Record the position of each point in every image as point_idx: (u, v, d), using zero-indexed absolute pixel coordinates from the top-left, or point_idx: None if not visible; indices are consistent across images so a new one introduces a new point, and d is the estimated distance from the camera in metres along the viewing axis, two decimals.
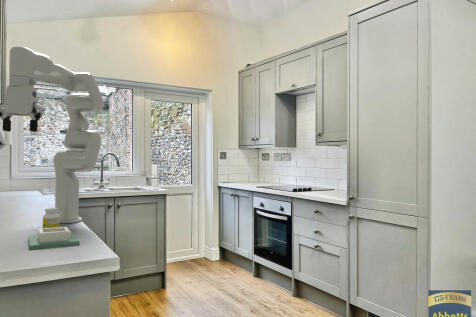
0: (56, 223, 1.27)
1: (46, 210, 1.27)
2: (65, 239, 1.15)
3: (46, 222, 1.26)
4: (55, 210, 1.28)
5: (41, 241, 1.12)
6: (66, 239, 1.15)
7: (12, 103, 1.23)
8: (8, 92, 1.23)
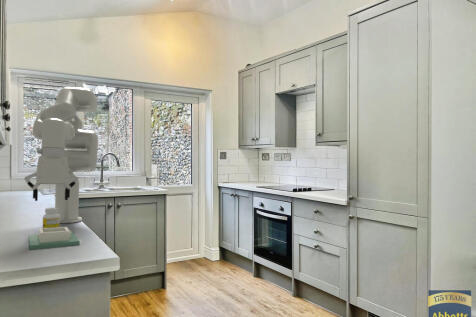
0: (56, 223, 1.27)
1: (46, 210, 1.27)
2: (65, 239, 1.15)
3: (46, 222, 1.26)
4: (55, 210, 1.28)
5: (41, 241, 1.12)
6: (66, 239, 1.15)
7: None
8: None
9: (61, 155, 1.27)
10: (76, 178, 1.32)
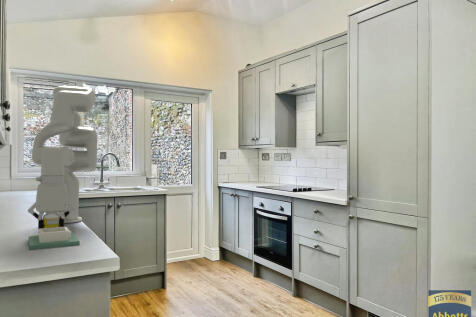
0: (56, 223, 1.27)
1: None
2: (65, 239, 1.15)
3: (46, 222, 1.26)
4: None
5: (41, 241, 1.12)
6: (66, 239, 1.15)
7: None
8: None
9: (60, 183, 1.28)
10: (72, 208, 1.32)
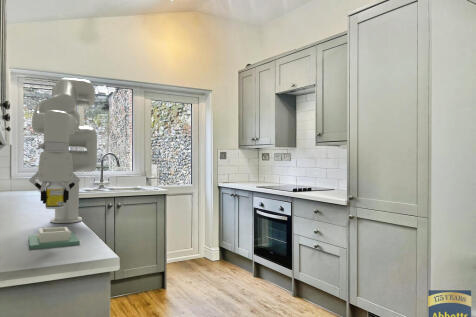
0: (60, 195, 1.16)
1: None
2: (65, 239, 1.15)
3: (50, 193, 1.14)
4: None
5: (41, 241, 1.12)
6: (66, 239, 1.15)
7: None
8: None
9: (65, 150, 1.17)
10: (77, 180, 1.20)
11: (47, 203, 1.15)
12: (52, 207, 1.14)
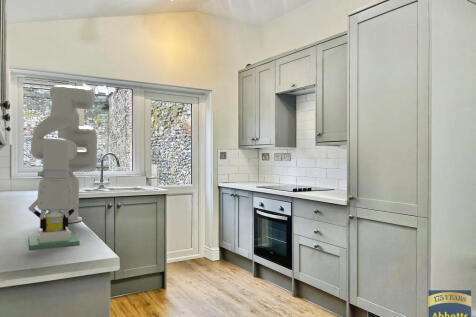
0: (60, 222, 1.16)
1: None
2: (65, 239, 1.15)
3: (49, 221, 1.15)
4: None
5: (41, 241, 1.12)
6: (66, 239, 1.15)
7: None
8: None
9: (64, 178, 1.17)
10: (77, 206, 1.20)
11: (46, 231, 1.15)
12: None
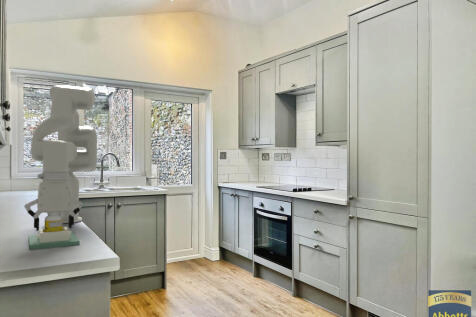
0: (59, 226, 1.16)
1: None
2: (65, 239, 1.15)
3: (48, 224, 1.14)
4: None
5: (41, 241, 1.12)
6: (66, 239, 1.15)
7: None
8: None
9: (64, 180, 1.17)
10: (81, 204, 1.21)
11: None
12: None
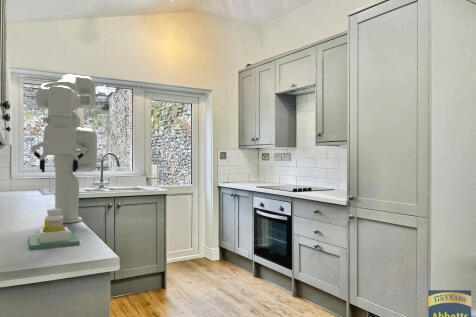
0: (59, 226, 1.16)
1: (48, 211, 1.15)
2: (65, 239, 1.15)
3: (49, 225, 1.14)
4: (58, 211, 1.17)
5: (41, 241, 1.12)
6: (66, 239, 1.15)
7: None
8: None
9: (69, 125, 1.21)
10: (84, 149, 1.26)
11: None
12: None
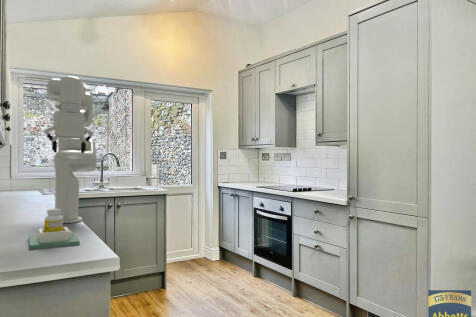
0: (59, 226, 1.16)
1: (48, 211, 1.15)
2: (65, 239, 1.15)
3: (49, 224, 1.15)
4: (58, 211, 1.17)
5: (41, 241, 1.12)
6: (66, 239, 1.15)
7: None
8: None
9: (78, 110, 1.37)
10: (91, 133, 1.42)
11: None
12: None
